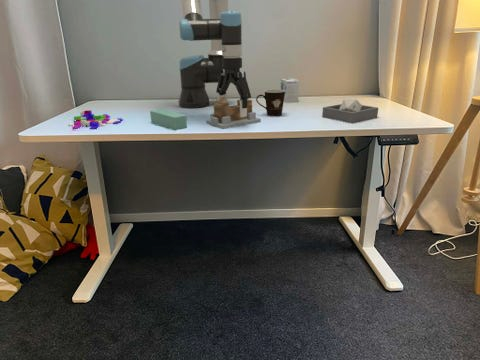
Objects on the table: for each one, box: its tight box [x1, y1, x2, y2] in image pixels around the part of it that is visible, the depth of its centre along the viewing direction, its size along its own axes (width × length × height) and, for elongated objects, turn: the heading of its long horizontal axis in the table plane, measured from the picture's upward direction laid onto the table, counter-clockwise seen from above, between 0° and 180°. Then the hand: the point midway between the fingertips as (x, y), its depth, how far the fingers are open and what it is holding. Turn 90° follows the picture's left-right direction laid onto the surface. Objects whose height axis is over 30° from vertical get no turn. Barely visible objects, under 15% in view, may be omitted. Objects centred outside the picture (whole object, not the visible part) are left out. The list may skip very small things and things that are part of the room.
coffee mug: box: [255, 89, 285, 117], centre depth 155 cm, size 12×9×10 cm
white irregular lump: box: [339, 97, 363, 112], centre depth 148 cm, size 8×9×10 cm
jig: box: [205, 111, 262, 130], centre depth 144 cm, size 18×12×4 cm, turn 125°
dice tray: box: [322, 103, 379, 124], centre depth 149 cm, size 15×16×4 cm
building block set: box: [68, 109, 124, 130], centre depth 149 cm, size 25×20×4 cm
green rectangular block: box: [149, 108, 188, 131], centre depth 142 cm, size 18×5×5 cm, turn 42°
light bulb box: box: [280, 77, 300, 104], centre depth 186 cm, size 11×7×11 cm, turn 10°
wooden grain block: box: [213, 96, 253, 123], centre depth 142 cm, size 15×4×9 cm, turn 125°
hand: (233, 114), depth 143 cm, fingers open, 13 cm apart
